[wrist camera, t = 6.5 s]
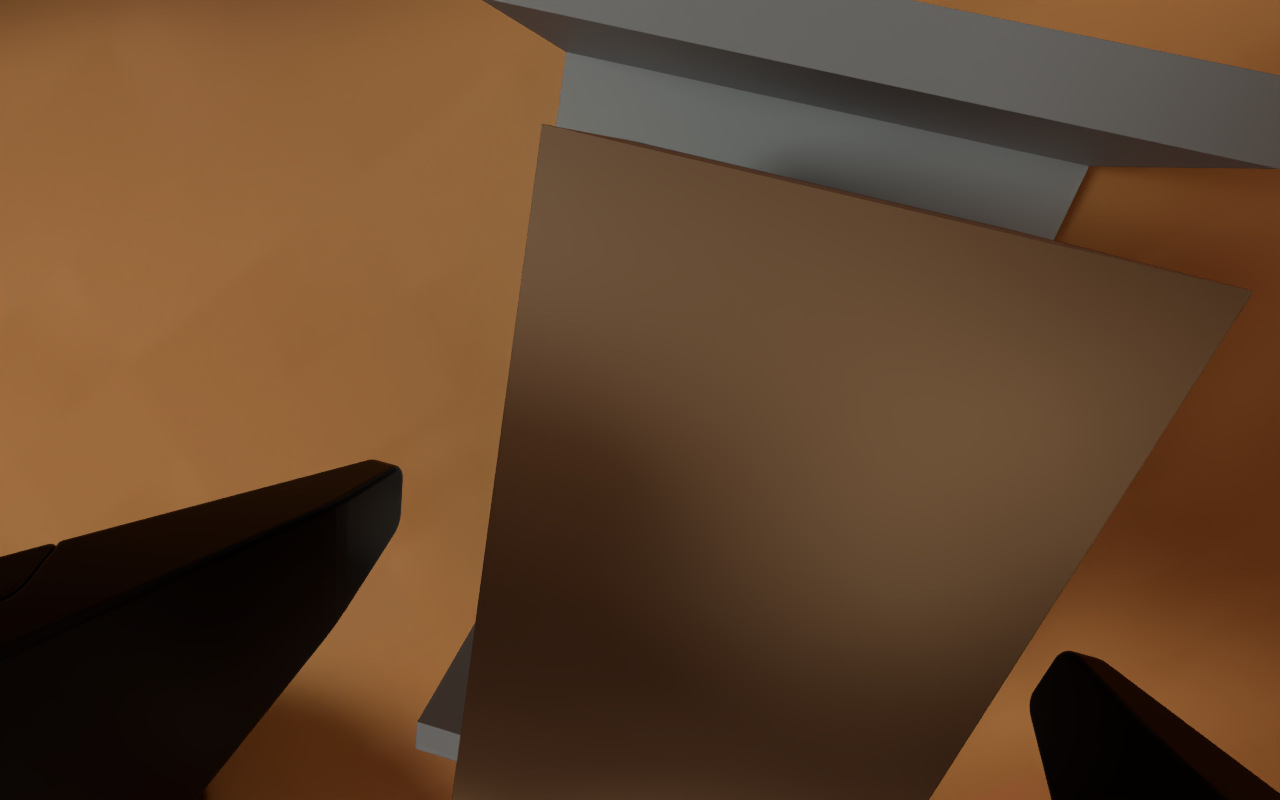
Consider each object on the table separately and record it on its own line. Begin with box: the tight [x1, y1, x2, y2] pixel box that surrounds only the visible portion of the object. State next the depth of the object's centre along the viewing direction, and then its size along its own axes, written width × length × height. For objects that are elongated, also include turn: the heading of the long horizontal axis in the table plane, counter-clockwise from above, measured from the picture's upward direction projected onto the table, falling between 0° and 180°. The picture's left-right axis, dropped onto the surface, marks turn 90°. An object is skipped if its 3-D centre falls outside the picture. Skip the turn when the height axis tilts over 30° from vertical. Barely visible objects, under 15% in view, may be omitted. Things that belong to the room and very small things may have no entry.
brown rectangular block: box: [452, 124, 1253, 800], centre depth 8 cm, size 10×5×4 cm, turn 168°
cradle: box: [415, 0, 1280, 761], centre depth 11 cm, size 14×9×4 cm, turn 168°
